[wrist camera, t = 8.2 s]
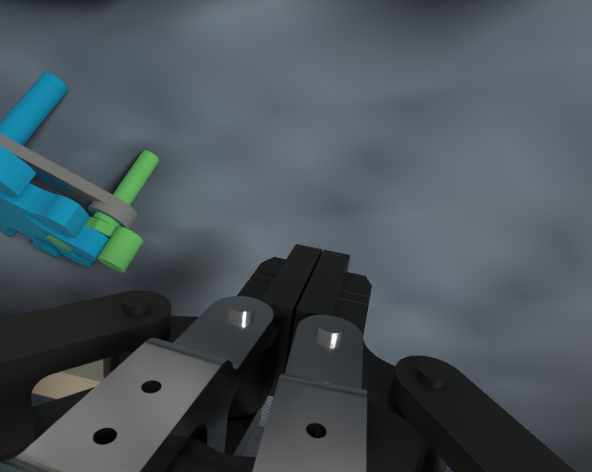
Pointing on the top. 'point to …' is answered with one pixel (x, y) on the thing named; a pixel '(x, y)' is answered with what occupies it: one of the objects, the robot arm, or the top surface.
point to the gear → (64, 192)
